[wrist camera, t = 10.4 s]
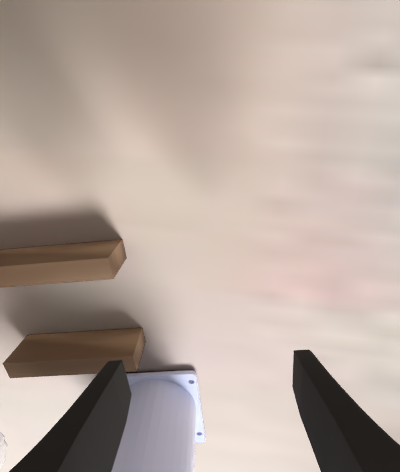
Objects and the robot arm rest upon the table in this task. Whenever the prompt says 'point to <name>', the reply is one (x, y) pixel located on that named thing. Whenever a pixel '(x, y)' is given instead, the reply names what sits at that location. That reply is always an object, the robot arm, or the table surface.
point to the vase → (2, 449)
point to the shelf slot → (72, 343)
